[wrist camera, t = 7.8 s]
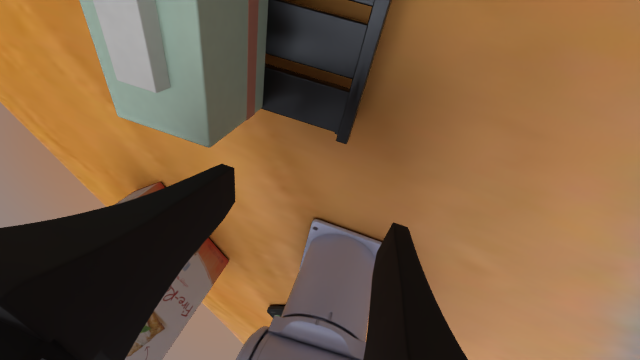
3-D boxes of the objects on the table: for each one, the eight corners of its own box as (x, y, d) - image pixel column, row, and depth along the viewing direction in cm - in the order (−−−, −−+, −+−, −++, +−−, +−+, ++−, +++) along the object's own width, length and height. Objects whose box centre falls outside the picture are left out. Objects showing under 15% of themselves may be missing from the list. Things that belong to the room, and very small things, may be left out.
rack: (356, 120, 19) (340, 158, 14) (158, 58, 20) (91, 76, 16) (415, -66, 12) (417, -97, 8) (122, -134, 14) (-5, -189, 10)
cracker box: (232, 259, 35) (79, 490, 19) (204, 262, 38) (48, 465, 22) (162, 178, 29) (-155, 414, 13) (134, 188, 32) (-155, 393, 15)
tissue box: (263, 107, 16) (199, 157, 11) (192, 85, 17) (102, 123, 12) (273, -64, 11) (166, -109, 6) (171, -90, 12) (-2, -149, 7)
